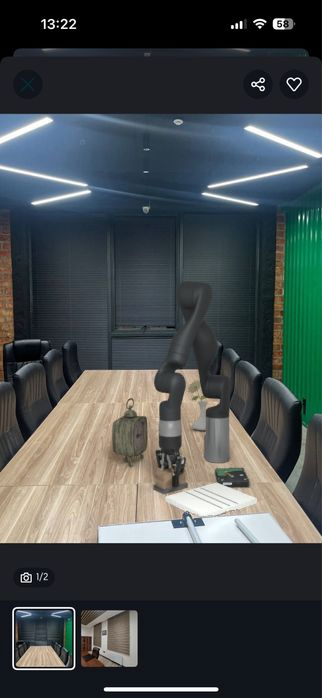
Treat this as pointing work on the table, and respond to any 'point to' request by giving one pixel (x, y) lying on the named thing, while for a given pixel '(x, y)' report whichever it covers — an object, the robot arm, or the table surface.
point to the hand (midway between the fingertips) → (170, 484)
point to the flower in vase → (201, 421)
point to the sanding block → (168, 481)
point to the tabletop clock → (130, 434)
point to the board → (210, 500)
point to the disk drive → (232, 477)
